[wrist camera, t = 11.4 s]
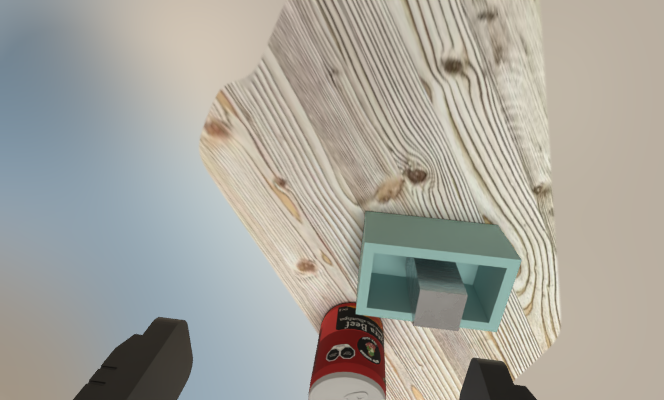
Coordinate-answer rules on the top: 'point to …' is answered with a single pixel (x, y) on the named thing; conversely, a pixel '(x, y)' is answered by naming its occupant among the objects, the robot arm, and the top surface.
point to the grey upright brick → (435, 293)
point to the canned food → (349, 357)
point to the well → (437, 244)
